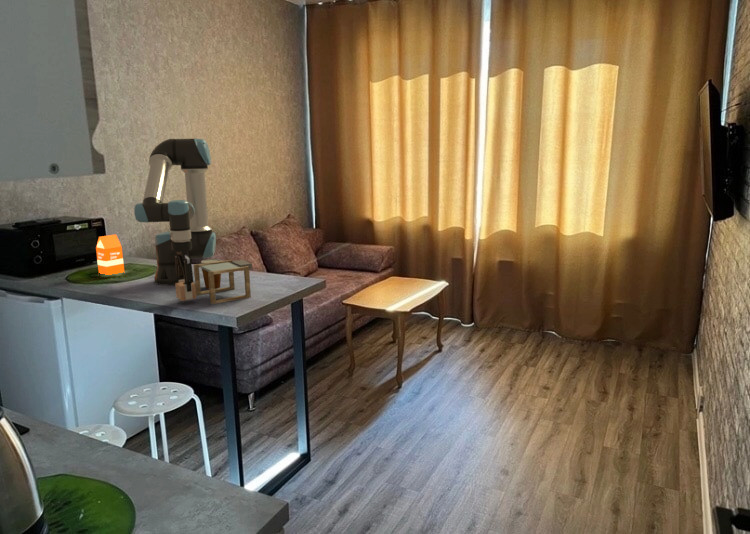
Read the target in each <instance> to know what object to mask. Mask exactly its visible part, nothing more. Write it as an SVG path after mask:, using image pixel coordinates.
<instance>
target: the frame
mask: <svg viewBox="0 0 750 534" xmlns="http://www.w3.org/2000/svg"><path fill="white" fill-rule="evenodd" d="M231 261H234V260H233V259H227V260H221V261H219V262H212V263H204V264H201V263H196V264H193V277H194V284H195V287H196V296H202V294H203V295H207V294H209V302H210V303H209V304H211V305H214V304H215V305H216V304H220V303H227V302H231V301H238V300H237V299H239V300H243V299H244V298H245V299H250V298H252V296H251V295H252V293H251V292H252V291H251V278H250V277H251V275H250V270H249V267H248V266H245V267H240V268H232V269H225V270H218V271H210V272H208V277H209V289H207V290H202V289H201V277H200V268H201V266H205V265H212V264H220V263H227V262H230V263H231ZM242 270H243V273H244V274H243V276H244V292H245V293H244V294H243V295H236V296H233V297H232V296H231V297H225V298H220V299H216V293H220V292H225V291H231V290H235V287H236V286H235V276H234V275H235V274H234V272H242ZM227 273H228V282H229V283H228V284H229V286H227V287H219V288H216V289H215V286H214V274H221V275H222V274H227ZM249 297H250V298H249Z"/></svg>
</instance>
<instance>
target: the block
mask: <svg viewBox="0 0 750 534" xmlns="http://www.w3.org/2000/svg"><path fill="white" fill-rule="evenodd" d="M183 283H185V282H179V283H175V284H174V285H175V297H176V299H178V300H179V301H180V302H184V301H188V300H195V299H197V295H196V287H195V282H193V283H192V294H193V299H188V300H186V299H185V289H184V284H183Z"/></svg>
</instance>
